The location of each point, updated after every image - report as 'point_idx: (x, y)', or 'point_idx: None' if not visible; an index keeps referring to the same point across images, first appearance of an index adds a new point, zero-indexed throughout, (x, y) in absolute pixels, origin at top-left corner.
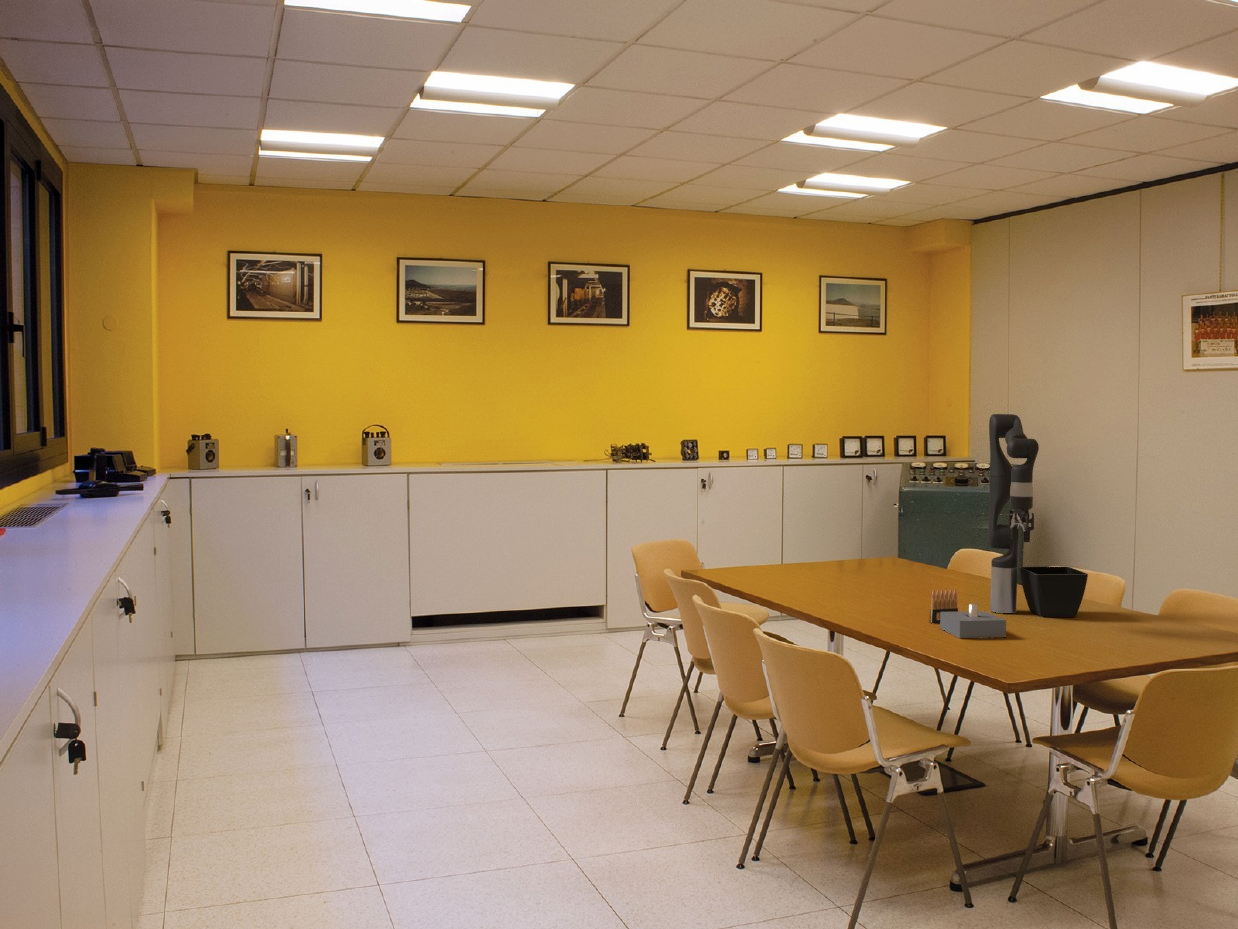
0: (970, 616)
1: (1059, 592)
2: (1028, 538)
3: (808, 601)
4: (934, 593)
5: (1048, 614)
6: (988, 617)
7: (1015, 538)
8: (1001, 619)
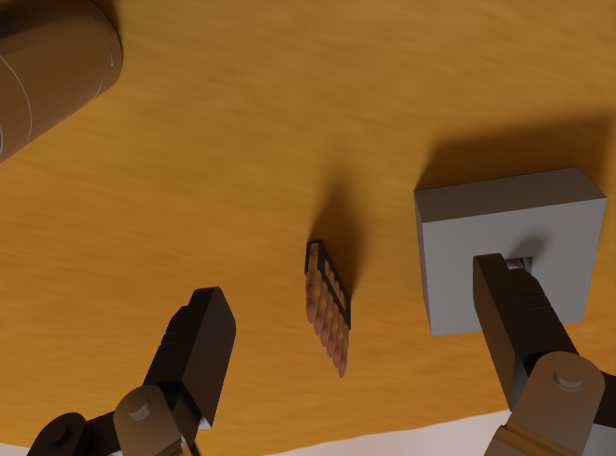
0: None
1: None
2: (532, 297)
3: None
4: (345, 367)
5: None
6: (543, 239)
7: (225, 309)
8: (589, 209)
